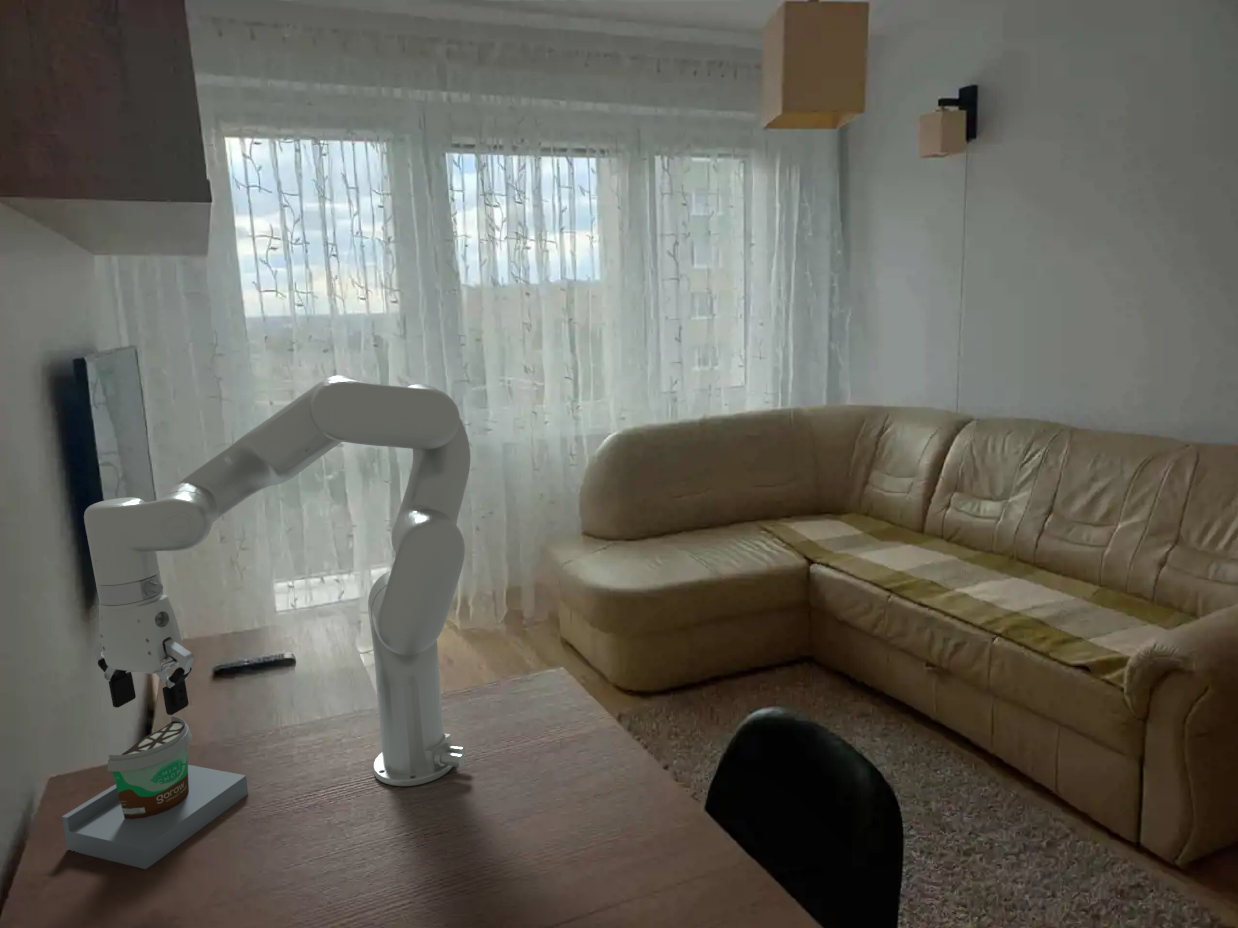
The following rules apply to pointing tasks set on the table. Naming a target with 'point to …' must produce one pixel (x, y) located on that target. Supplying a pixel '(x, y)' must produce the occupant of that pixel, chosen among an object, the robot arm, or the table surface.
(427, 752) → the robot arm
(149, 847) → the stand
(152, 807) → the food container
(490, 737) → the table surface
